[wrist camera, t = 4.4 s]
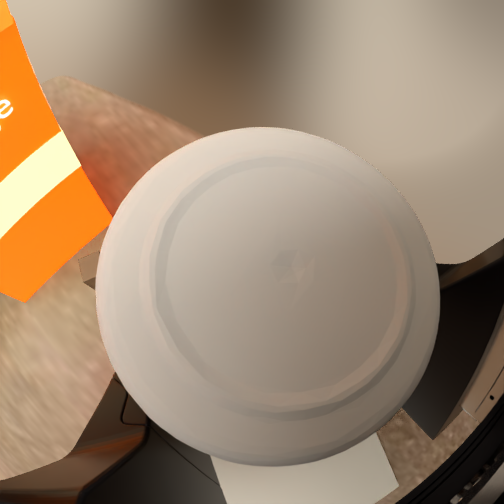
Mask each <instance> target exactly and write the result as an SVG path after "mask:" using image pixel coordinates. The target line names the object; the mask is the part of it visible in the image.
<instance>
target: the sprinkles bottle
mask: <svg viewBox="0 0 504 504" xmlns="http://www.w3.org/2000/svg"><path fill="white" fill-rule="evenodd" d="M95 291H96V311H97V316H98V322H99V327H100V332H101V337H102V340H103V343H104V346H105V349H106V351H107V354H108V357H109V360H110V362H111V364H112V366H113V368H114V370H115V372H116V373H117V375H118V377H119V379H120V381H121V382H122V384H123V386H124V387H125V389H126V390H127V392H128V393H129V394H130V395H131V397H132V398H133V399H134V400H135V401H136V403H137V404H138V405H139V406H140V407H141V409H142V410H143V411H144V412H145V413H146V414H147V415H148V417H149V418H151V419H152V420H153V421H154V422H155V423H156V424H157V425H159V426H160V427H161V428H162V429H164V430H165V431H167V432H168V433H169V434H171V435H172V436H173V437H175V438H176V439H178V440H180V441H181V442H183V443H185V444H187V445H189V446H191V447H192V448H194V449H197V450H199V451H201V452H204V453H206V454H209V455H211V456H214V457H217V458H220V459H223V460H226V461H230V462H234V463H238V464H244V465H251V466H264V467H281V466H292V465H300V464H306V463H311V462H316V461H319V460H322V459H326V458H328V457H331V456H334V455H336V454H339V453H341V452H344V451H346V450H348V449H349V448H351V447H353V446H355V445H357V444H359V443H360V442H362V441H364V440H365V439H367V438H368V437H370V436H371V435H372V434H374V433H375V432H376V431H378V430H379V429H380V428H382V427H383V426H384V425H385V424H386V423H387V422H389V421H390V420H391V418H392V417H393V416H394V415H395V414H396V413H397V412H398V411H399V409H400V408H401V407H402V406H403V405H404V404H405V402H406V401H407V400H408V399H409V397H410V396H411V394H412V393H413V391H414V390H415V388H416V387H417V385H418V383H419V381H420V380H421V378H422V376H423V374H424V372H425V370H426V367H427V365H428V363H429V360H430V357H431V354H432V351H433V348H434V345H435V340H436V336H437V331H438V324H439V316H440V288H439V278H438V271H437V266H436V262H435V258H434V255H433V252H432V249H431V246H430V242H429V240H428V238H427V236H426V233H425V231H424V229H423V227H422V225H421V223H420V221H419V219H418V217H417V216H416V214H415V212H414V211H413V209H412V208H411V206H410V205H409V203H408V202H407V201H406V199H405V198H404V197H403V195H402V194H401V193H400V192H399V191H398V189H397V188H396V187H395V186H394V185H393V184H392V183H391V181H389V180H388V179H387V178H386V177H385V176H384V175H383V174H382V173H381V172H379V171H378V170H377V169H376V168H375V167H374V166H373V165H371V164H370V163H368V162H367V161H365V160H364V159H363V158H361V157H360V156H358V155H356V154H355V153H353V152H351V151H350V150H348V149H346V148H344V147H342V146H341V145H339V144H337V143H334V142H332V141H329V140H327V139H324V138H321V137H318V136H315V135H311V134H308V133H305V132H301V131H296V130H290V129H283V128H271V127H270V128H269V127H251V128H243V129H235V130H230V131H226V132H221V133H217V134H214V135H211V136H207V137H204V138H201V139H198V140H196V141H194V142H192V143H190V144H188V145H185V146H184V147H182V148H180V149H178V150H177V151H175V152H173V153H171V154H170V155H168V156H167V157H165V158H164V159H162V160H161V161H159V162H158V163H157V164H156V165H154V166H153V167H152V168H151V169H150V170H149V171H147V172H146V174H145V175H144V176H143V177H142V178H141V179H140V180H139V181H138V182H137V183H136V184H135V185H134V187H133V188H132V189H131V191H130V192H129V193H128V195H127V196H126V197H125V199H124V200H123V201H122V203H121V204H120V206H119V208H118V210H117V211H116V213H115V215H114V217H113V219H112V221H111V223H110V226H109V228H108V230H107V233H106V235H105V238H104V241H103V244H102V248H101V251H100V255H99V261H98V267H97V273H96V284H95Z"/></svg>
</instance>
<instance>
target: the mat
mask: <svg viewBox="0 0 504 504" xmlns="http://www.w3.org/2000/svg"><path fill="white" fill-rule="evenodd" d="M210 456H211V455H210ZM211 459H212V462H213V466H214V468H215V471H216V474H217V477H218V480H219V483H220V487H221V488H222V491H223V494H224V496H225V499H226V502H227V504H375V503H376V502H378V501H379V500H381V499H382V498H383V497H385V496H386V495H388V494H389V493H390V492H392V491H393V490H395V489H396V488H397V487H399V485H398V483H397V480H396V478H395V475H394V473H393V471H392V468H391V466H390V464H389V461H388V459H387V457H386V454H385V452H384V450H383V448H382V445H381V443H380V441H379V438H378V436H377V434H376V432H375V433H374V434H372V435H371V436H370V437H368V438H367V439H365V440H364V441H362V442H360V443H359V444H357V445H355V446H353V447H351V448H349V449H348V450H346V451H344V452H341V453H339V454H336V455H334V456H331V457H328V458H326V459H322V460H319V461H316V462H311V463H306V464H300V465H292V466H281V467H264V466H251V465H244V464H238V463H234V462H230V461H226V460H223V459H220V458H217V457H214V456H211Z"/></svg>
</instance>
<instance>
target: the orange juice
mask: <svg viewBox="0 0 504 504" xmlns="http://www.w3.org/2000/svg"><path fill="white" fill-rule="evenodd" d="M112 219H113V218H112V217H111V215H110V213H109V212H108V210H107V209H106V207H105V206H104V204H103V202H102V201H101V199H100V198H99V196H98V194H97V193H96V191H95V190H94V188H93V186H92V185H91V183H90V181H89V180H88V178H87V176H86V174H85V173H84V171H83V169H82V168H81V164H80V162H79V160H78V159H77V157H76V155H75V153H74V151H73V150H72V148H71V146H70V144H69V142H68V140H67V138H66V136H65V135H64V133H63V131H62V129H61V128H60V126H59V125H58V123H57V121H56V119H55V117H54V115H53V113H52V111H51V109H50V107H49V105H48V103H47V101H46V97H45V95H44V93H43V92H42V90H41V86H40V84H39V83H38V81H37V78H36V76H35V73H34V70H33V69H32V65H31V64H30V61H29V58H28V56H27V54H26V51H25V49H24V46H23V44H22V41H21V38H20V35H19V32H18V29H17V26H16V23H15V20H14V18H13V16H12V15H11V14H10V11H9V9H8V6H7V2H6V0H0V292H2V293H4V294H6V295H8V296H11V297H13V298H15V299H18V300H20V301H22V302H26V301H27V300H28V299H29V298H30V297H31V296H32V295H33V294H34V293H35V292H36V291H37V290H38V289H39V288H40V287H41V286H42V285H43V284H44V283H45V282H46V281H47V280H48V279H49V278H50V277H51V276H52V275H53V274H54V273H55V272H56V271H57V270H58V269H59V268H60V267H61V266H62V265H63V264H65V263H66V262H67V261H68V260H69V259H70V258H71V257H72V256H73V255H74V254H76V253H77V252H78V251H79V250H80V249H81V248H82V247H83V246H85V245H86V244H87V243H88V242H89V241H90V240H91V239H93V238H94V237H95V236H96V235H97V234H98V233H100V232H101V231H102V230H103V229H104V228H106V227H107V226H108V225H109V224H110V223H111V221H112Z"/></svg>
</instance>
